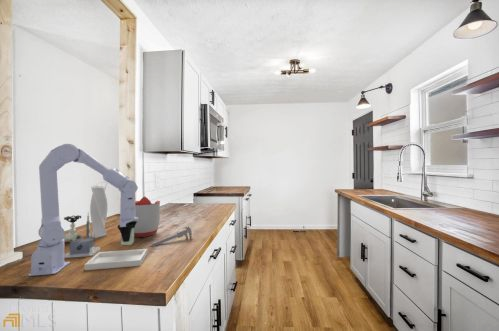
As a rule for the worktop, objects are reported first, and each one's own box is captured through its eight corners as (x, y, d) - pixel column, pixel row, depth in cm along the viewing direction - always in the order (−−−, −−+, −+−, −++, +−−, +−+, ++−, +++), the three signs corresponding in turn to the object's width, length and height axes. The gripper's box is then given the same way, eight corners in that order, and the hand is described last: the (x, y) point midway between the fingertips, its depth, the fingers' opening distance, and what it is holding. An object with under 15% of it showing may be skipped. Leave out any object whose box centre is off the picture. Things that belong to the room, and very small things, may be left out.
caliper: (190, 238, 120) (190, 225, 120) (191, 238, 119) (191, 225, 119) (148, 246, 107) (148, 232, 107) (149, 247, 106) (149, 233, 106)
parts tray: (140, 265, 86) (140, 260, 86) (84, 270, 82) (84, 264, 82) (147, 253, 98) (147, 248, 98) (98, 257, 94) (98, 252, 94)
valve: (72, 244, 109) (72, 218, 109) (60, 243, 111) (60, 217, 111) (84, 240, 116) (84, 215, 116) (73, 239, 117) (73, 215, 117)
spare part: (131, 244, 100) (131, 230, 100) (121, 245, 99) (121, 230, 99) (134, 241, 104) (134, 227, 104) (124, 242, 103) (124, 228, 103)
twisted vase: (102, 233, 128) (102, 181, 128) (111, 235, 124) (111, 182, 125) (85, 237, 121) (85, 182, 121) (94, 239, 117) (94, 183, 117)
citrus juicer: (168, 230, 133) (168, 194, 133) (147, 239, 116) (147, 198, 116) (144, 228, 137) (144, 193, 137) (120, 237, 120) (120, 197, 120)
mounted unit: (92, 255, 95) (92, 242, 95) (64, 258, 93) (64, 244, 93) (100, 249, 103) (100, 236, 103) (74, 250, 101) (74, 237, 101)
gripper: (133, 210, 95) (133, 244, 95) (141, 205, 110) (141, 234, 110) (114, 211, 94) (114, 245, 94) (125, 205, 108) (125, 235, 108)
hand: (127, 239), depth 102 cm, fingers closed on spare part, 4 cm apart
